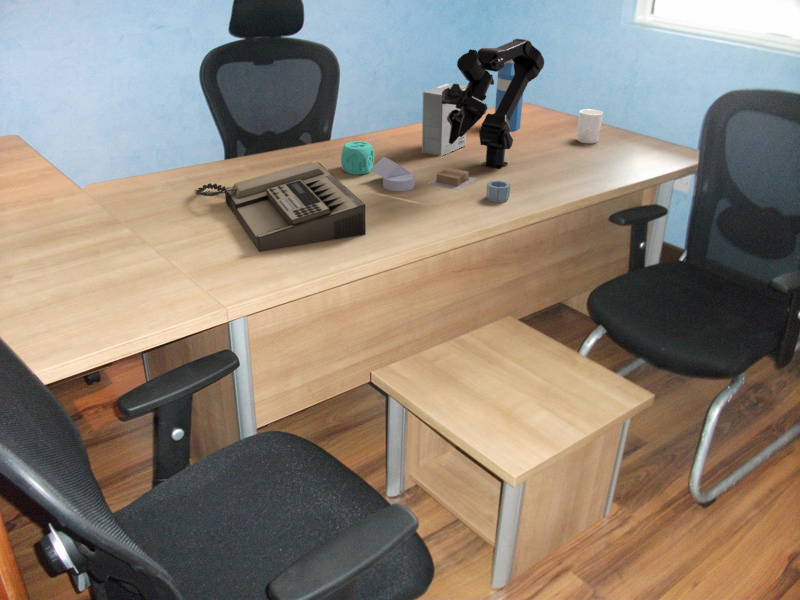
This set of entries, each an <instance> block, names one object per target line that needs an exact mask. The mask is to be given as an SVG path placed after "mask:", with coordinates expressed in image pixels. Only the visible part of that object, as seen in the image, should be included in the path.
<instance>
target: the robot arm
mask: <svg viewBox="0 0 800 600" xmlns="http://www.w3.org/2000/svg"><path fill="white" fill-rule="evenodd" d="M541 52H542V51H540V50H539V49H537V48H536V47H535V46H534V45H533V44H532V42H531V41H530V40H529V39H523V38H522V39H521V38H515V39H513V40H512V41H510V42H508V43H504V44H502V45H500V46H498V47H482V48H480V49H478V51H477V50H476V49H468V51H467V52H465V53H464V54H462V55H461V56H460V57H459V58H458V59H457V62H456V65H457V68H458V70H459V71H460V72H461V73H460V74H462V75H463V77H464V78H465V80H467V82H468V83H467V85H466V86H467V88H466V89H465V90H464V91H462V89H460V86H459V85H460V83H452V84H453V85H452V86H451V88H450V89H449V88H447V89H445V90H444V91H443V92H442V101H441V103H442V104H452V105H456V108H458V109H461V110H460V111H459V110H457V109H456V110H453V111H451V112H450V113H449V115H448V117H447V120H448V122H449V123H450V125H451V130H450V137H449V143H450V144H453V143H454V142H455V141H456V140H457V138H458V137H459V136H460V137H462V136H463V135H464V134H465V133H467V132H468V131H470V129H471V128H473V127H474V126H475V125H476V123H477V122H478V121H479V120H480V119H482V118H483V116H484V115H485V114H486V112H487V110H488V106H487V103H486V102H485V100H486V99H487V93H488V90H489V87H490V86H491V85H493V86H494V85H495V79H494V77H493V74H491V73H490V72H497V73H498V72H499V70H501V69H502V68H503V67H504V65H505V63H506V62H507V61H509V60H511V59H512V60H513V62H514V72H515V74H514V76H513V78H512V80H511V82H510V84H509V86H508V88H507V90H506V92H505V94H504V96H503V98H502V100H501V102H500V104H499V106H498V108H497V110H496V112H495V111H494V113H487V114H486V115H485V118H484V120H483V121H482V123H481V126H480V128H479V131H478V135H479V142H480V145H481V146H485V147H486V152H485V161H484V162H482V163H481V166H483V167H486V168H487V167H488V168H492V169H493V168H494V169H498V170H500V169H502V168H504V167H506V166H507V165H509V162H507V161H505V157H506V156H505V154H506V150H510V149H511V148H512V146H513V144H514V143H513V142H514V139H513V137H512V136H511V133H510V132H511V131H510V125H509V120H510V118H511V116H512V114H513V112H514V110H515V108H516V106H517V104H518V102H519V100H520V98H521V96H522V94H523V95H524V92H525V90H526V88H527V86H528V84H529V83H530V82H531V81H532V80H534V79H536V78H538V76H539V74H540V72H541V71H542V69H543V68H544V66H545V59H544V57H543V54H542V53H541Z"/></svg>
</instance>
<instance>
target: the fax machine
mask: <svg viewBox="0 0 800 600" xmlns="http://www.w3.org/2000/svg"><path fill="white" fill-rule="evenodd" d="M206 189H208V190H207V191H205V190H206ZM209 189H211V190H216V191H210V190H209ZM194 194H195V195H198V196H205V197H215V196H219V195H221V194H224V197H225V203H226V204H227V206H228V208H229V209H230V211H231V212H232V213H233V214H234V216H235V218H236V219H237V221H238V222H239V224H240V225H241V227H242V228H243V230H244V231H245V233H246V234H247V236H248V237H249V239H250V240H251V242H252V243H253V245H254V246H255V248H256V249H257V251H258V252H259V253H262V252H267V251H272V250H273V251H274V250H280V248H281V249H285V248H286V247H287V248H292V246H293V247H297V246H298V247H299V246H304V245H311V244H317V243H322V242H328V241H335V240H340V239H341V240H342V239H347V238H348V239H349V238H353V237H359V236H365V235H366V234H367V233H366V230H367V229H366V204H365V203H364V202H363V201H362V200H361V199H359V197H357V196H356V195H355V194H354V193H353V192H352V191H351V190H349V189H348V187H346V185H344V184H343V183H342V182H341V181H340V180H338V178H337V177H335V175H333V174H332V173H331V172H330V171H329V170H328V169H327V168H326V167H324V166H323V165H322V164H321V163H320V162H318V161H317V162H312V161H309V162H305V163H303V164H302V163H301V164H298V165H296V166H291V167H288V168H287V167H286V168H285V169H281V170H278V171H277V170H276V171H274V172H270V173H268V174H263V175H261V176H256V177H253V178H249V179H246V180H243V181H238V182H235V183H233V186H230V187H229V186H228V187H226V186H225V185H224V186H223V185H221V184H219V185H218V184H217V183H214V184H212V183H208V184H203V185H202V187H197V189H196V190H195V191H194Z"/></svg>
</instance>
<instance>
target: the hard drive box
mask: <svg viewBox="0 0 800 600" xmlns="http://www.w3.org/2000/svg"><path fill="white" fill-rule="evenodd" d="M453 84H454V83H449V82H448V83H444V84H441V85H440V86H435V87H433V88H431V89H428V90H427V89H426V90H425V91H422V119H421V120H422V121H421V122H422V125H421V126H422V127H421V128H422V129H421V130H422V131H421V133H422V135H421V136H422V137H421V140H422V141H421V153H422V154H429V155H434V156H439V157H442V156H443V155H444V156H446V155H448V154H450V153H453V152H455V151H457V150H460V149H462V148H463V147H466V141H467V139H466V136H467V134H466V133H467V132H466V133H465V134H464V135H463V136H462V137H460V136H459V137H458V138H457V140H456V141H455V142H454V143H453V144H450V143H449V137H450V130H451V125H450V123H449V122H448V120H447V117H448V115H449V113H450V112H451V111H453V110H456V109H457V110H459V111H460V110H461V109H458V108H456V105H452V104H442V103H441V101H442V92H443V91H444V90H445V89H447V88H449V89H450V88H451V86H452V85H453ZM459 86H460V89H462V91H464V90H465V89H466V88H467V85H465V84H464V85H462V84H459ZM461 147H462V148H461ZM459 148H460V149H459ZM452 151H453V152H452ZM445 154H446V155H445Z"/></svg>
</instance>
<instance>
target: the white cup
mask: <svg viewBox="0 0 800 600" xmlns="http://www.w3.org/2000/svg"><path fill="white" fill-rule="evenodd" d="M578 112H579V114H578V123H577V125H578V126H577V141H578V142H579V143H582V144H588V145H589V144H596V143H598V141H599V137H600V132H601V128H602V123H603V118H604V111H602V110H598V109H594V108H592V109H591V108H585V109H580V110H579V111H578Z"/></svg>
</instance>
